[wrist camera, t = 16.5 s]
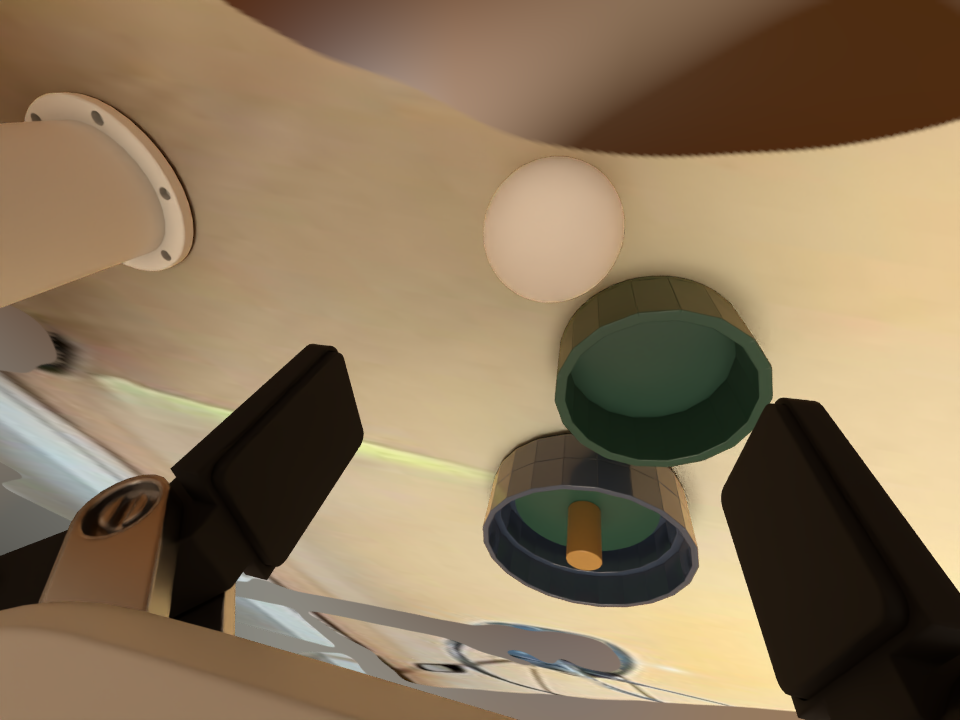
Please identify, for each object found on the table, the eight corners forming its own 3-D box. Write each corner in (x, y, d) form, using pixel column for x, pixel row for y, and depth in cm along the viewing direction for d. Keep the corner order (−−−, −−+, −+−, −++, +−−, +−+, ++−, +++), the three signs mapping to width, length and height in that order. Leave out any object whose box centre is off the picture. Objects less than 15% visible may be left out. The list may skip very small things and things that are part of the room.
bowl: (496, 531, 45) (485, 584, 41) (494, 417, 35) (479, 468, 31) (659, 562, 42) (668, 623, 37) (709, 445, 32) (730, 508, 27)
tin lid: (515, 528, 43) (506, 583, 38) (517, 443, 36) (506, 498, 31) (642, 551, 41) (650, 614, 36) (674, 465, 33) (689, 530, 28)
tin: (554, 410, 33) (549, 453, 29) (567, 269, 26) (564, 301, 22) (712, 429, 31) (731, 480, 27) (775, 280, 24) (813, 318, 20)
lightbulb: (634, 159, 22) (665, 206, 13) (586, 258, 26) (585, 346, 17) (532, 121, 22) (495, 142, 13) (499, 225, 26) (452, 296, 17)
